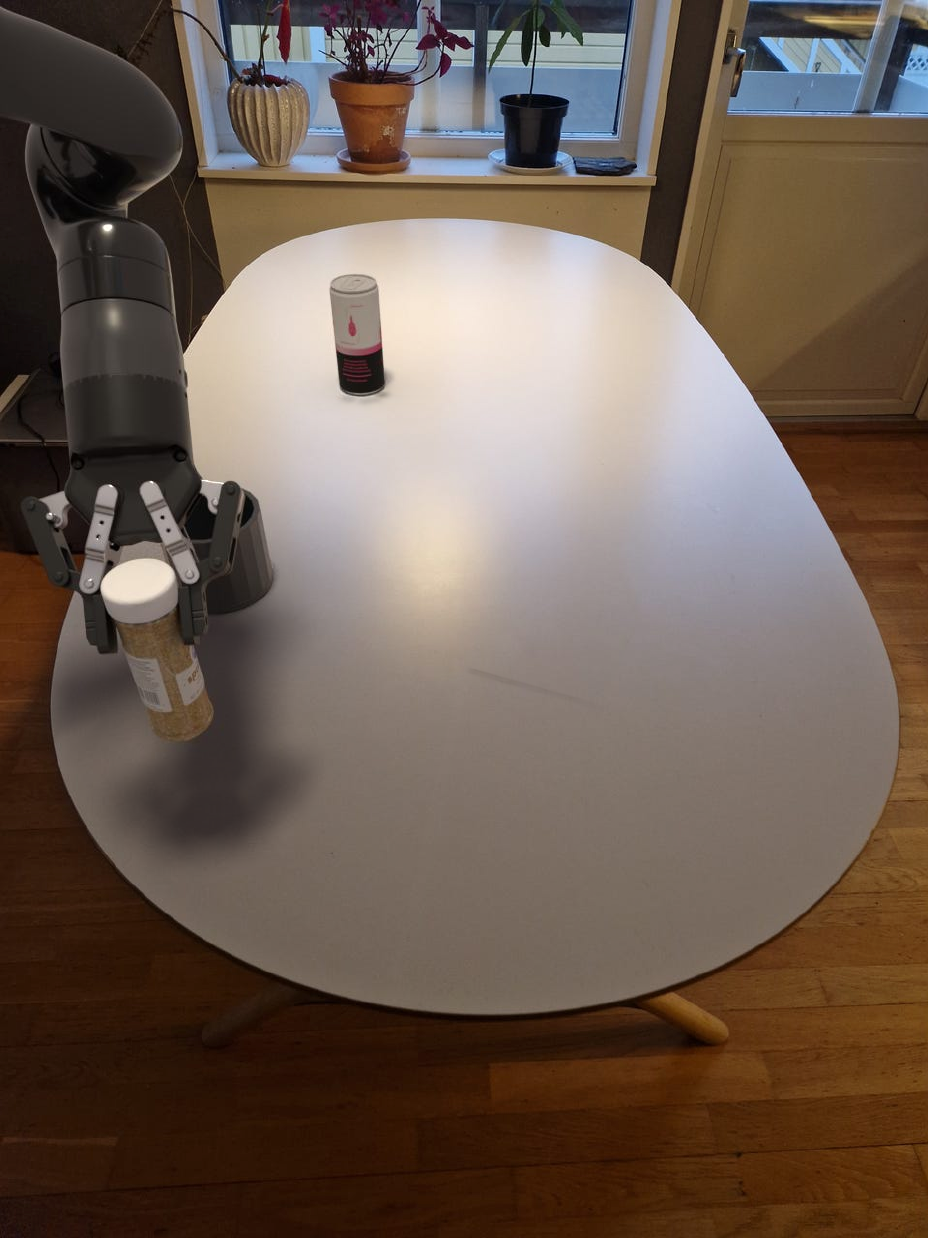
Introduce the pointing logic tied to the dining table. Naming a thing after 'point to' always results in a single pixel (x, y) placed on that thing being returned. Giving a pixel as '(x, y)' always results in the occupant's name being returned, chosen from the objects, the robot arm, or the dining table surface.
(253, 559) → the dark gray cylindrical container
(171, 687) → the sprinkles bottle
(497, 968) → the dining table surface
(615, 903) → the dining table surface
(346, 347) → the beverage can
